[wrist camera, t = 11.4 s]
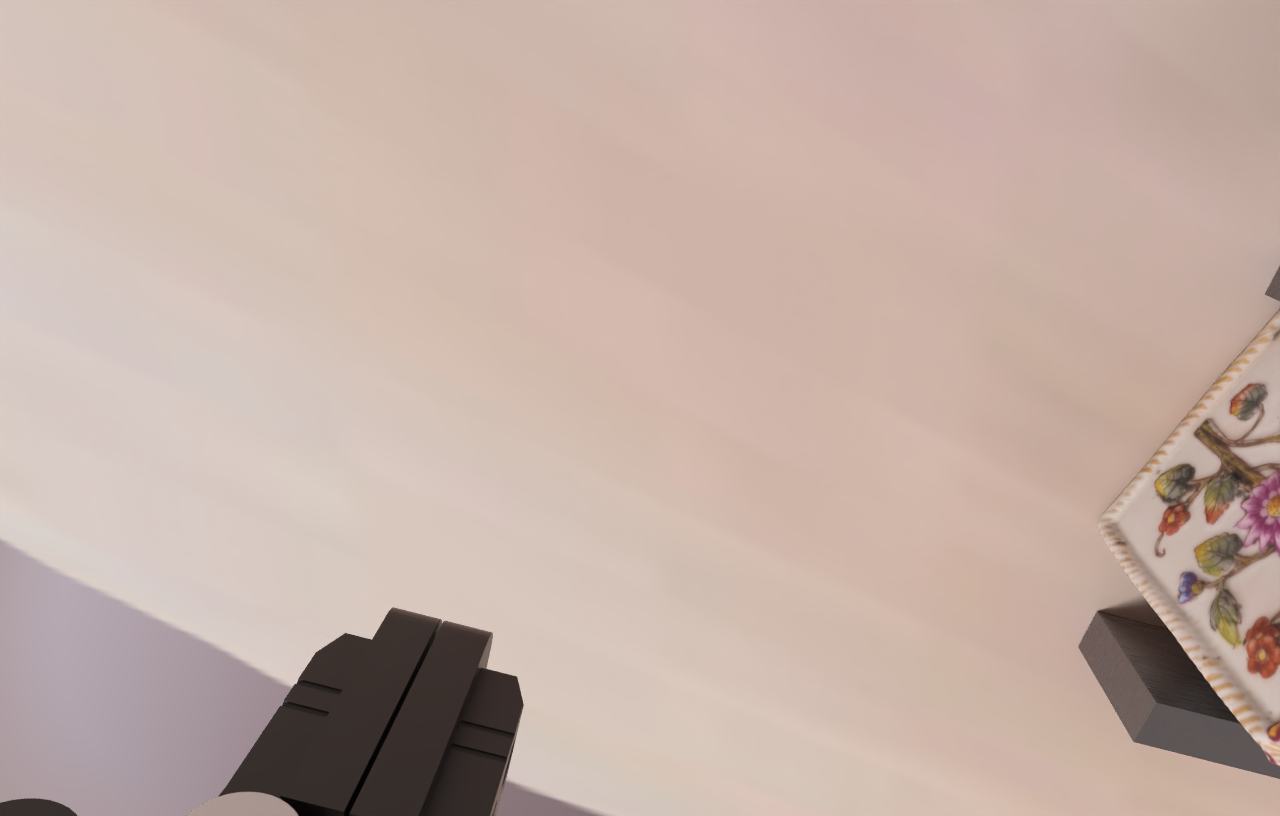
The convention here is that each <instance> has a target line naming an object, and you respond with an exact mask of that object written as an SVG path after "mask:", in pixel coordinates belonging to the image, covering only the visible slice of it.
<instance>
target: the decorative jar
mask: <svg viewBox="0 0 1280 816" xmlns="http://www.w3.org/2000/svg"><path fill="white" fill-rule="evenodd" d="M1098 529H1099V531H1100V533H1101V536H1102V537H1103V539H1104V540H1105V542H1106V543H1107V545H1108V547H1109V548H1110V550H1111V551H1112V553H1113V554H1114V555H1115V557H1116V558H1117V560H1118V562H1119V563H1120V564H1121V566H1122V568H1123V569H1124V570H1125V572H1126V574H1127V575H1128V576H1129V578H1130V579H1131V580H1132V582H1133V583H1134V584H1135V586H1136V587H1137V589H1138V590H1139V591H1140V593H1141V594H1142V595H1143V596H1144V598H1145V599H1146V600H1147V602H1148V603H1149V604H1150V606H1151V607H1152V608H1153V610H1154V611H1155V612H1156V613H1157V614H1158V616H1159V617H1160V619H1161V620H1162V621H1163V622H1164V624H1165V625H1166V626H1167V627H1168V629H1169V630H1170V631H1171V632H1172V634H1173V635H1174V636H1175V637H1176V639H1177V641H1178V642H1179V643H1180V644H1181V646H1182V647H1183V649H1184V651H1185V652H1186V653H1187V654H1188V656H1189V658H1190V659H1191V660H1192V661H1193V662H1194V664H1195V665H1196V666H1197V668H1198V670H1199V671H1200V672H1201V673H1202V674H1203V676H1204V678H1205V679H1206V680H1207V681H1208V683H1209V684H1210V685H1211V687H1212V688H1213V689H1214V691H1215V692H1216V693H1217V695H1218V696H1219V697H1220V698H1221V699H1222V700H1223V702H1224V703H1225V705H1226V706H1227V707H1228V708H1229V709H1230V711H1231V712H1232V713H1233V714H1234V715H1235V717H1236V718H1237V720H1238V721H1239V722H1240V723H1241V724H1242V726H1243V727H1244V728H1245V730H1246V731H1247V732H1248V733H1249V734H1250V735H1251V736H1252V738H1253V739H1254V740H1255V741H1256V742H1257V743H1258V744H1259V745H1260V746H1261V747H1262V749H1263V751H1264V753H1265V755H1266V756H1267V758H1268V760H1269V762H1271V763H1273V764H1275V765H1278V766H1279V767H1280V309H1279V310H1278V312H1277V313H1276V314H1275V315H1274V317H1273V318H1272V319H1271V320H1270V321H1269V322H1268V323H1267V324H1266V326H1265V327H1264V329H1262V330H1261V331H1260V332H1259V334H1258V335H1257V336H1256V337H1255V339H1254V340H1253V341H1252V342H1251V343H1250V344H1249V345H1248V346H1247V348H1246V349H1245V350H1244V351H1243V352H1242V353H1241V354H1240V355H1239V356H1238V357H1237V358H1236V359H1235V361H1234V362H1233V363H1232V364H1231V365H1230V366H1229V367H1228V368H1227V370H1226V371H1225V372H1224V373H1223V374H1222V375H1221V376H1220V378H1219V379H1218V380H1217V381H1216V382H1215V383H1214V384H1213V385H1212V387H1211V388H1210V389H1209V390H1208V392H1207V393H1206V394H1205V395H1204V396H1203V397H1202V398H1201V399H1200V401H1199V402H1198V403H1197V405H1196V406H1195V407H1194V408H1193V409H1192V410H1191V411H1190V413H1189V414H1188V415H1187V416H1186V417H1185V418H1184V419H1183V420H1182V422H1181V423H1180V425H1179V426H1178V427H1177V428H1176V429H1175V430H1174V431H1173V433H1172V434H1171V435H1170V436H1169V437H1168V439H1167V440H1166V441H1165V442H1164V444H1163V445H1162V446H1161V447H1160V448H1159V450H1158V451H1157V452H1156V453H1155V454H1154V456H1153V457H1152V458H1151V460H1150V461H1149V462H1148V463H1147V464H1146V465H1145V466H1144V468H1143V469H1142V470H1141V471H1140V472H1139V473H1138V475H1137V476H1136V477H1135V478H1134V479H1133V480H1132V481H1131V482H1130V484H1129V485H1128V486H1127V487H1126V488H1125V489H1124V490H1123V492H1122V493H1121V494H1120V495H1119V496H1118V498H1117V499H1116V500H1115V501H1114V502H1113V503H1112V504H1111V505H1110V507H1109V508H1108V509H1107V510H1106V511H1105V512H1104V513H1103V515H1102V516H1101V517H1100V519H1099V521H1098Z"/></svg>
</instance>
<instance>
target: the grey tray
mask: <svg viewBox="0 0 1280 816" xmlns="http://www.w3.org/2000/svg"><path fill="white" fill-rule="evenodd" d="M1265 295H1268V296H1270V297H1272V298H1274V299H1276V300H1278V301H1280V267H1279V269H1278V271H1277V273H1276V274H1275V276H1274V278H1273V280H1272V282H1271V284H1270V286H1269V288H1268V290H1267V291H1266V293H1265ZM1079 649H1080V651H1081V652H1082V654H1083V656H1084V658H1085V659H1086V661H1087V663H1088V664H1089V666H1090V668H1091V670H1092V671H1093V673H1094V675H1095V676H1096V678H1097V680H1098V682H1099V683H1100V685H1101V687H1102V688H1103V690H1104V692H1105V694H1106V695H1107V697H1108V699H1109V700H1110V702H1111V704H1112V706H1113V707H1114V709H1115V711H1116V712H1117V714H1118V716H1119V718H1120V719H1121V721H1122V723H1123V724H1124V726H1125V728H1126V730H1127V731H1128V733H1129V735H1130V736H1131V738H1132V740H1133V742H1136V743H1140V744H1144V745H1148V746H1152V747H1156V748H1160V749H1164V750H1168V751H1172V752H1176V753H1180V754H1184V755H1188V756H1192V757H1196V758H1200V759H1204V760H1208V761H1211V762H1215V763H1219V764H1223V765H1227V766H1231V767H1235V768H1239V769H1243V770H1247V771H1251V772H1255V773H1259V774H1263V775H1267V776H1271V777H1275V778H1279V779H1280V767H1279V766H1278V765H1275V764H1273V763H1271V762H1269V760H1268V758H1267V756H1266V755H1265V753H1264V751H1263V749H1262V747H1261V746H1260V745H1259V744H1258V743H1257V742H1256V741H1255V740H1254V739H1253V738H1252V736H1251V735H1250V734H1249V733H1248V732H1247V731H1246V730H1245V728H1244V727H1243V726H1242V724H1241V723H1240V722H1239V721H1238V720H1237V718H1236V717H1235V715H1234V714H1233V713H1232V712H1231V711H1230V709H1229V708H1228V707H1227V706H1226V705H1225V703H1224V702H1223V700H1222V699H1221V698H1220V697H1219V696H1218V695H1217V693H1216V692H1215V691H1214V689H1213V688H1212V687H1211V685H1210V684H1209V683H1208V681H1207V680H1206V679H1205V678H1204V676H1203V674H1202V673H1201V672H1200V671H1199V670H1198V668H1197V666H1196V665H1195V664H1194V662H1193V661H1192V660H1191V659H1190V658H1189V656H1188V654H1187V653H1186V652H1185V651H1184V649H1183V647H1182V646H1181V644H1180V643H1179V642H1178V641H1177V639H1176V637H1175V636H1174V635H1173V634H1172V632H1171V631H1170V630H1168V629H1164V628H1160V627H1156V626H1152V625H1148V624H1144V623H1141V622H1137V621H1133V620H1129V619H1125V618H1121V617H1117V616H1113V615H1109V614H1105V613H1101V612H1097V613H1096V615H1095V617H1094V618H1093V620H1092V622H1091V624H1090V626H1089V628H1088V630H1087V632H1086V634H1085V635H1084V637H1083V639H1082V641H1081V643H1080V645H1079Z"/></svg>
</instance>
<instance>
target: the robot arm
mask: <svg viewBox="0 0 1280 816" xmlns="http://www.w3.org/2000/svg"><path fill="white" fill-rule="evenodd" d="M492 638H493V633H492V632H488V631H484V630H480V629H476V628H472V627H468V626H464V625H460V624H456V623H452V622H448V621H444V622H443V623H442V620H441V619H437V618H433V617H429V616H425V615H421V614H417V613H413V612H409V611H406V610H402V609H398V608H392V609H391V610H390V611H389V612H388V614H387V615H386V617H385V619H384V621H383V622H382V624H381V626H380V627H379V629H378V631H377V632H376V634H375V636H374V637H373V639H372V640H371V639H367V638H363V637H359V636H355V635H351V634H347V633H345V634H344V635H342V636H340V637H339V638H337V639H336V640H334V641H333V642H331V643H330V644H328V645H327V646H325V647H324V648H322V649H321V650H319V651H318V652H316V653H315V655H314V656H313V658H312V659H311V661H310V662H309V664H308V665H307V667H306V668H305V670H304V671H303V673H302V674H301V676H300V677H299V679H298V682H297V684H295V685H294V686H293V688H292V689H291V691H290V692H289V694H288V695H287V697H286V698H285V700H284V702H283V705H282V706H280V707H279V709H278V710H277V712H276V713H275V715H274V716H273V718H272V719H271V720H270V722H269V724H268V725H267V727H266V728H265V730H264V731H263V732H262V734H261V735H260V737H259V738H258V740H257V742H256V743H255V744H254V746H253V747H252V749H251V750H250V752H249V753H248V755H247V757H246V758H245V759H244V761H243V762H242V764H241V765H240V767H239V768H238V770H237V771H236V773H235V774H234V776H233V777H232V779H231V780H230V782H229V783H228V785H227V786H226V788H225V789H224V790H223V791H222V793H221V794H220V795H219V796H218V797H216V798H214V799H212V800H209V801H207V802H205V803H204V804H202V805H200V806H198V807H197V808H195V809H194V810H193V811H191V812H190V813H189V814H188V815H187V816H495V815H496V812H497V809H498V805H499V802H500V798H501V795H502V792H503V788H504V785H505V781H506V777H507V773H508V769H509V765H510V760H511V756H512V752H513V748H514V743H515V739H516V735H517V731H518V727H519V722H520V718H521V714H522V710H523V706H524V705H523V700H522V696H521V692H520V687H519V683H518V679H517V677H516V676H512V675H508V674H504V673H500V672H496V671H492V670H488V669H486V667H487V663H488V658H489V653H490V649H491V644H492ZM0 816H77V815H76V813H74V812H73V811H72V810H71V809H70V808H68V807H66V806H64V805H62V804H60V803H57V802H54V801H51V800H44V799H18V800H11V801H7V802H2V803H0Z"/></svg>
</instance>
